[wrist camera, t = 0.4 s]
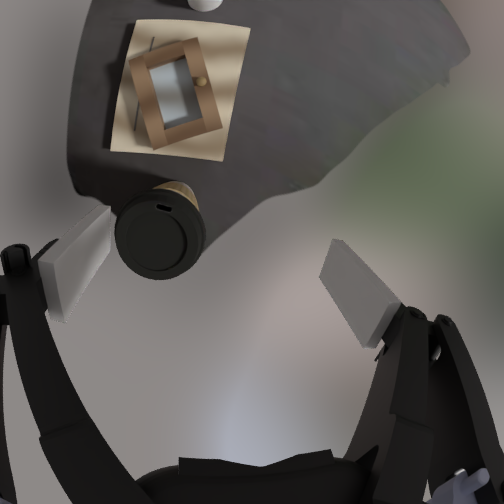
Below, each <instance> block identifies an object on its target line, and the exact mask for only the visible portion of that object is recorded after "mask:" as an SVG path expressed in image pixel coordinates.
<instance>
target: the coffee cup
mask: <svg viewBox="0 0 504 504" xmlns="http://www.w3.org/2000/svg"><path fill="white" fill-rule="evenodd" d="M114 234H115V241H116V246H117V249H118V252H119V255H120V257H121V258H122V260H123V261H124V263H126V265H127V266H128V267H129V268H130V269H131V270H132V271H134V272H135V273H137V274H138V275H140V276H143V277H145V278H148V279H154V280H166V279H171V278H174V277H177V276H179V275H180V274H182V273H184V272H185V271H187V270H188V269H190V268H191V267H192V266H193V265H194V264H195V263H196V262H197V260H198V259H199V257H200V256H201V253H202V251H203V249H204V245H205V240H206V229H205V225H204V221H203V219H202V216H201V214H200V212H199V209H198V204H197V200H196V198H195V196H194V193H193V191H192V190H191V188H190V187H189V186H188V185H186V184H185V183H182V182H179V181H170V182H167V183H164V184H161V185H159V186H157V187H155V188H153V189H149V190H145V191H142V192H139V193H137V194H135V195H134V196H132V197H131V198H130V199H129V200H127V202H126V203H125V204H124V205H123V206H122V208H121V210H120V212H119V214H118V216H117V219H116V223H115V233H114Z"/></svg>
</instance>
